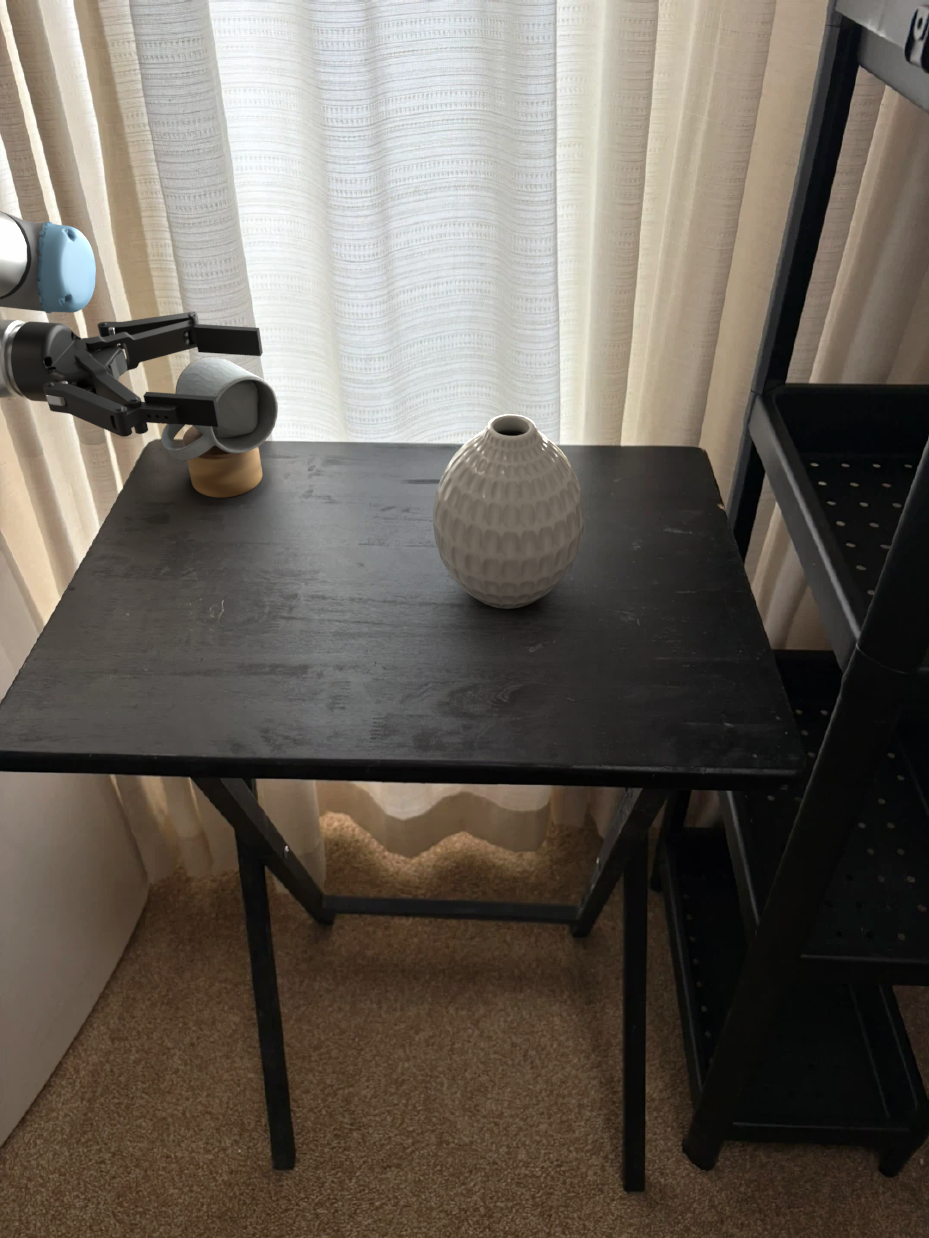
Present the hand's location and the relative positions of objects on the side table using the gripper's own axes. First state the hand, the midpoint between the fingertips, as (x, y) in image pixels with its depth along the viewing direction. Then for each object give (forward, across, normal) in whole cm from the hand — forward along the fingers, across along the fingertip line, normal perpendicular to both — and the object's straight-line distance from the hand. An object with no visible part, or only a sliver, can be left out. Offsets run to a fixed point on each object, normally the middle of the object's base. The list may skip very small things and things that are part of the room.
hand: (240, 375), depth 98 cm
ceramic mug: (-3, +1, -7) cm, 8 cm away
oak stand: (-3, 0, -12) cm, 12 cm away
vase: (+27, +14, -12) cm, 33 cm away
